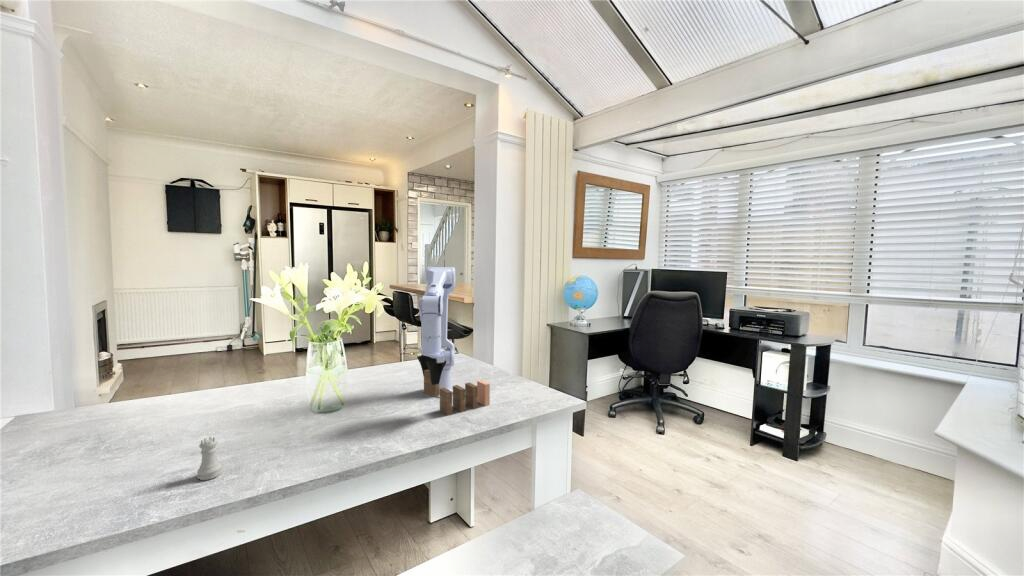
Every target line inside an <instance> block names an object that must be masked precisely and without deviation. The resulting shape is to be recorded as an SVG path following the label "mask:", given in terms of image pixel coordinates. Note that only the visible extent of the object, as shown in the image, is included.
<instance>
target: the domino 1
mask: <svg viewBox="0 0 1024 576" xmlns="http://www.w3.org/2000/svg"><path fill="white" fill-rule="evenodd" d="M423 390H424V392H423V394H425V395H428V396H430V397H431V396H432V397H434V398H438V397H437V396H439V384H435V385H432V383H431V379H430V372H429V370H424V376H423Z"/></svg>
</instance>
